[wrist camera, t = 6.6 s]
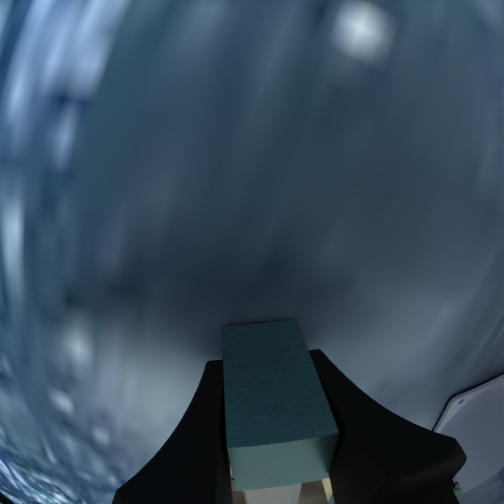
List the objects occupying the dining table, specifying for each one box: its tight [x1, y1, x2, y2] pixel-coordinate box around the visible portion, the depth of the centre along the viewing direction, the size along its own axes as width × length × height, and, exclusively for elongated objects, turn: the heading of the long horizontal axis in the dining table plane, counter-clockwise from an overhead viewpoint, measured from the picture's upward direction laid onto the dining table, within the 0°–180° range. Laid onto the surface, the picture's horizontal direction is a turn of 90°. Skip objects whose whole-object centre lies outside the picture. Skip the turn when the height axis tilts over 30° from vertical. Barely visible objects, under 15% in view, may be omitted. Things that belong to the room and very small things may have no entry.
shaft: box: [222, 319, 339, 504], centre depth 14 cm, size 3×24×6 cm, turn 3°
